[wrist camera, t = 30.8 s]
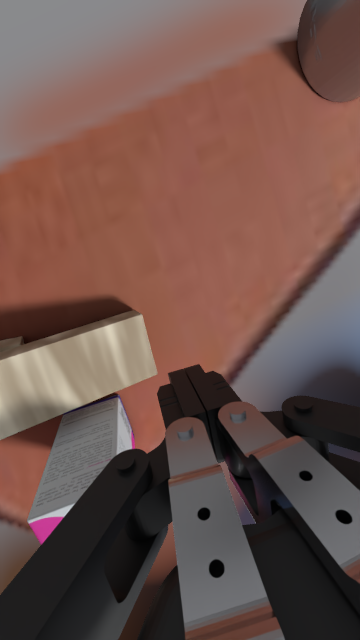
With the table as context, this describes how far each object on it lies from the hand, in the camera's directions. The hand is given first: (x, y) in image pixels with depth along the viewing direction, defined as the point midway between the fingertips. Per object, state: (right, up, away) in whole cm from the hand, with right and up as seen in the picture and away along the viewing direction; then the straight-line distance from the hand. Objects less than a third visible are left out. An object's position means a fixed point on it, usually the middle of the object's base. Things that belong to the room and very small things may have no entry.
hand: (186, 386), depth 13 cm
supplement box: (-9, -8, +16) cm, 20 cm away
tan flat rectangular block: (-3, +1, +13) cm, 14 cm away
